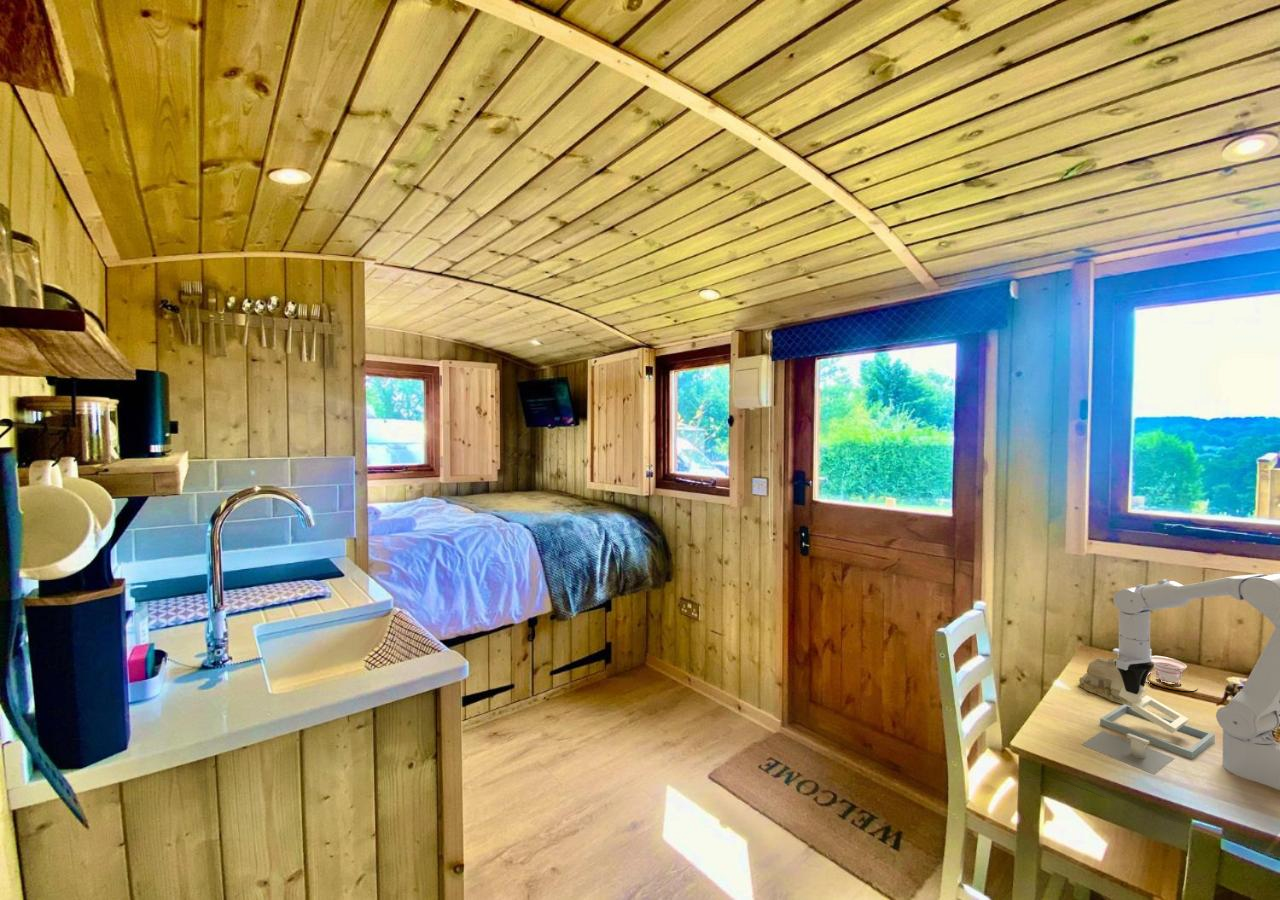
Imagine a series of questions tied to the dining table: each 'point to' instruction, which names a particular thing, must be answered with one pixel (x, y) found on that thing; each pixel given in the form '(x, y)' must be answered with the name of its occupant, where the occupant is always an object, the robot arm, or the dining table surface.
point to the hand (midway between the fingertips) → (1134, 691)
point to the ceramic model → (1104, 680)
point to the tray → (1186, 729)
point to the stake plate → (1129, 751)
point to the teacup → (1167, 669)
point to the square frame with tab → (1142, 702)
